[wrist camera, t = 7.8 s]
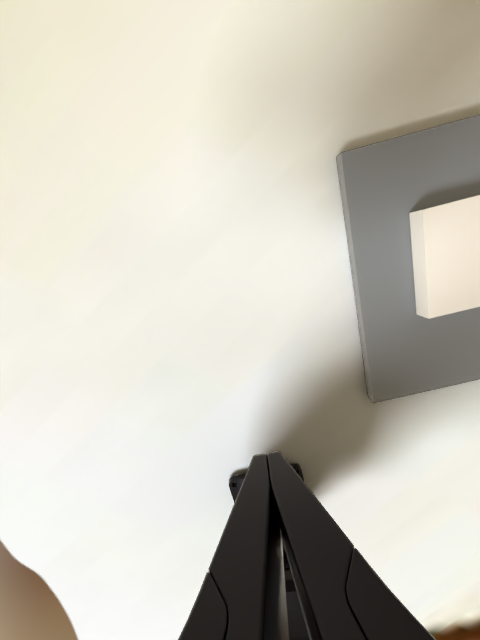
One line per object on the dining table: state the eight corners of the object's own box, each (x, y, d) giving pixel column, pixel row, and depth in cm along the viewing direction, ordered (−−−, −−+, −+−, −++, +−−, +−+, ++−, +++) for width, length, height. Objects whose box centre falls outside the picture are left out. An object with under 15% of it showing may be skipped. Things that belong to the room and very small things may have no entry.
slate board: (569, 352, 20) (582, 356, 19) (368, 397, 21) (373, 403, 20) (594, 86, 15) (613, 77, 15) (336, 157, 16) (341, 152, 15)
